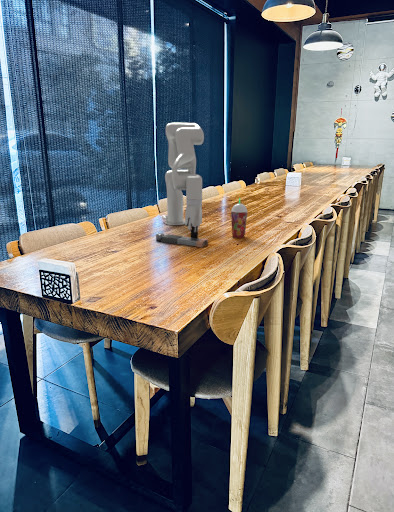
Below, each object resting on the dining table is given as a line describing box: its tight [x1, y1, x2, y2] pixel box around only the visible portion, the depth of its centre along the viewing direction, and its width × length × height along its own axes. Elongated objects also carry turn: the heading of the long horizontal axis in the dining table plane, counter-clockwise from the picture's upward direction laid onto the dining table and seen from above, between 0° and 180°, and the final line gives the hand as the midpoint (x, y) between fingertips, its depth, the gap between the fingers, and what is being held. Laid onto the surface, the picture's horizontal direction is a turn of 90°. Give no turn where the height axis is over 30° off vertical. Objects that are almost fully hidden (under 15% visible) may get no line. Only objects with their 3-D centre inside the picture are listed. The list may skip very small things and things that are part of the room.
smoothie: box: [230, 197, 248, 239], centre depth 192 cm, size 8×8×20 cm
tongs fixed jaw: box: [161, 236, 205, 248], centre depth 179 cm, size 22×3×3 cm, turn 64°
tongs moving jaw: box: [155, 233, 209, 247], centre depth 182 cm, size 26×5×3 cm, turn 64°
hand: (194, 239), depth 184 cm, fingers closed
